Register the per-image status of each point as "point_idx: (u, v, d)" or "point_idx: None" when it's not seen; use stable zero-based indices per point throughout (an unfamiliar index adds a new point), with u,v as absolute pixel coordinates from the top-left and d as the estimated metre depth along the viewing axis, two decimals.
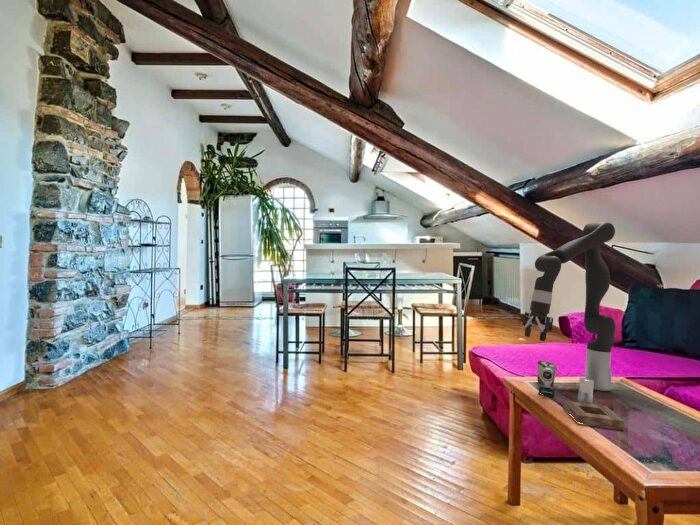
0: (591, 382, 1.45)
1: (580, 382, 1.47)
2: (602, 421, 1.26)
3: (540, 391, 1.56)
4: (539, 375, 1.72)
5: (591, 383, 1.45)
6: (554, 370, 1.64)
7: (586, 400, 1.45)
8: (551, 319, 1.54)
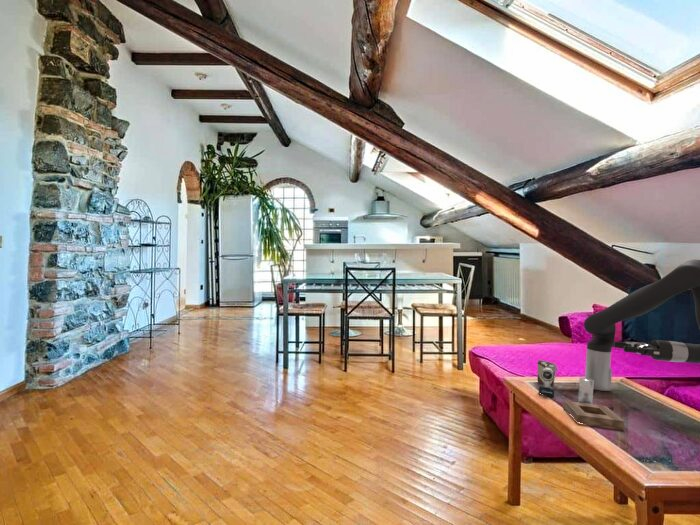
0: (591, 382, 1.45)
1: (580, 382, 1.47)
2: (602, 421, 1.26)
3: (540, 391, 1.56)
4: (539, 375, 1.72)
5: (591, 383, 1.45)
6: (554, 370, 1.64)
7: (586, 400, 1.45)
8: None
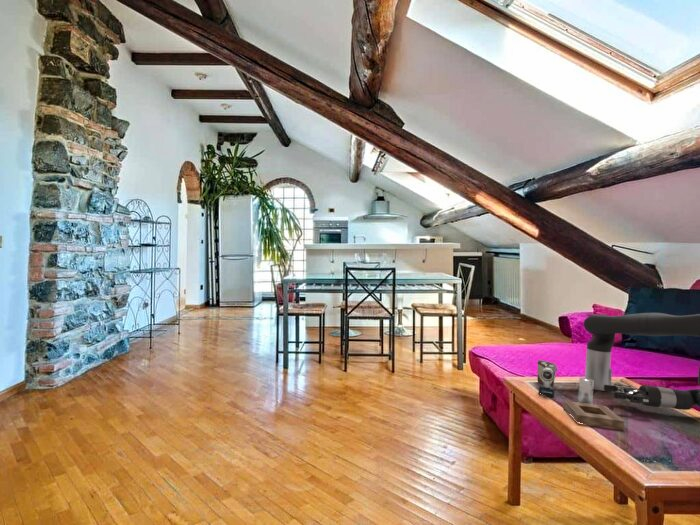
0: (591, 382, 1.45)
1: (580, 382, 1.47)
2: (603, 421, 1.26)
3: (540, 391, 1.56)
4: (539, 375, 1.72)
5: (591, 383, 1.45)
6: (554, 370, 1.64)
7: (586, 400, 1.45)
8: None
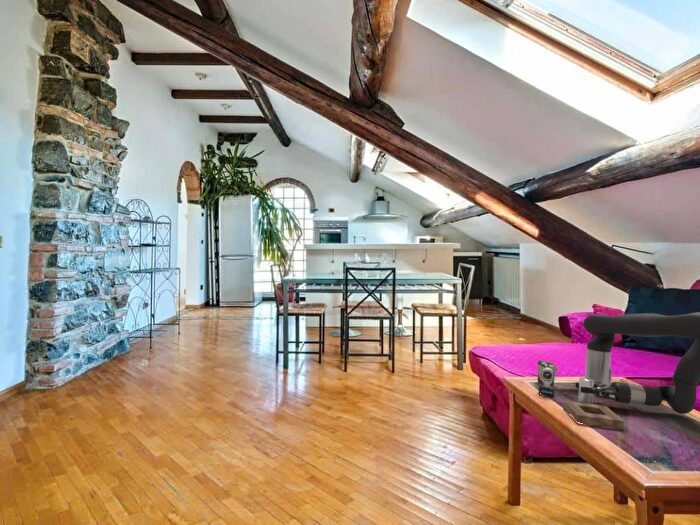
0: (591, 382, 1.45)
1: (580, 382, 1.47)
2: (603, 421, 1.26)
3: (540, 391, 1.56)
4: (539, 375, 1.72)
5: (591, 383, 1.45)
6: (554, 370, 1.64)
7: (586, 400, 1.45)
8: None
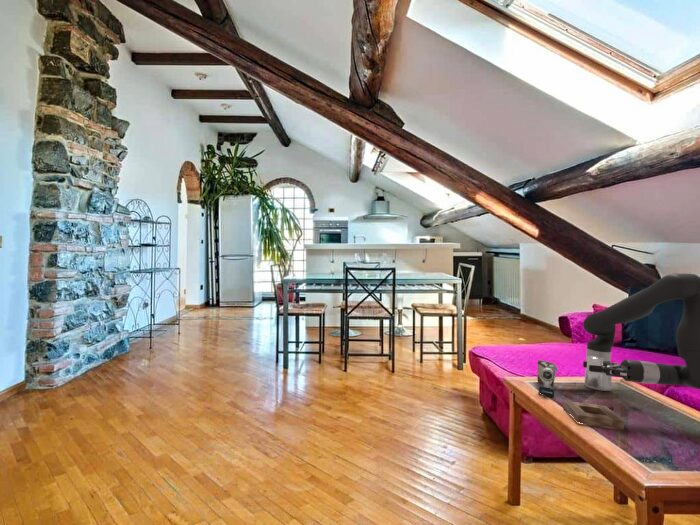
0: (600, 360, 1.34)
1: (588, 360, 1.36)
2: (603, 421, 1.26)
3: (540, 391, 1.56)
4: (539, 375, 1.72)
5: (600, 361, 1.34)
6: (554, 370, 1.64)
7: (595, 379, 1.34)
8: None
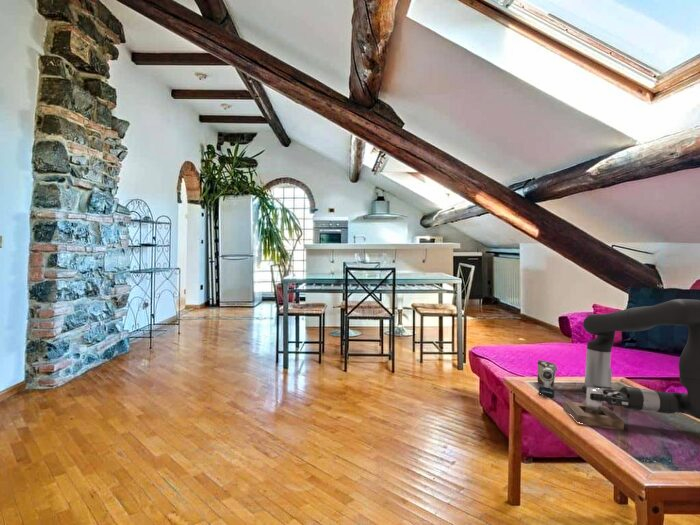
0: (600, 393, 1.31)
1: (587, 392, 1.33)
2: (603, 422, 1.26)
3: (540, 391, 1.56)
4: (539, 375, 1.72)
5: None
6: (554, 370, 1.64)
7: (593, 412, 1.31)
8: None
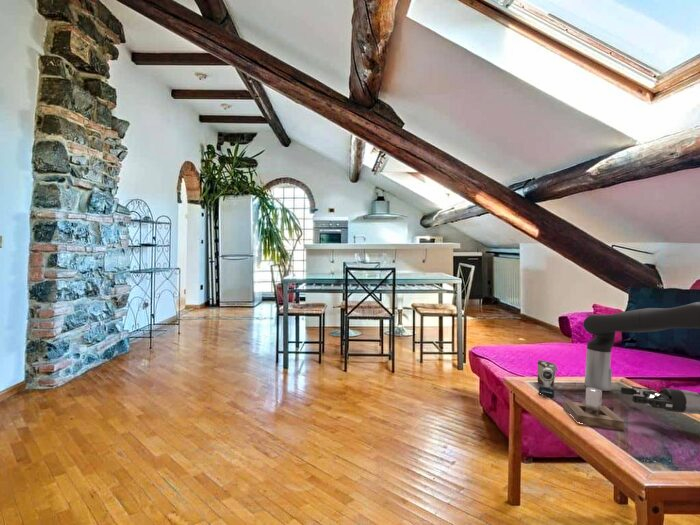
0: (599, 393, 1.31)
1: (587, 393, 1.33)
2: (603, 422, 1.26)
3: (540, 391, 1.56)
4: (539, 375, 1.72)
5: (599, 394, 1.31)
6: (554, 370, 1.64)
7: (593, 412, 1.31)
8: None
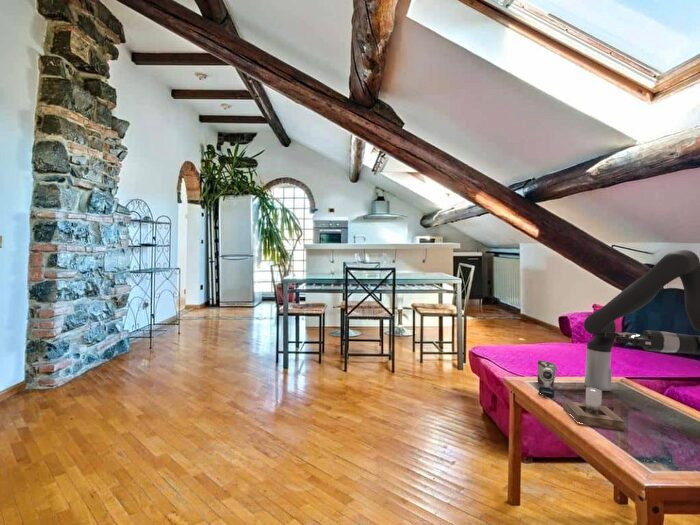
0: (599, 393, 1.31)
1: (587, 392, 1.33)
2: (603, 421, 1.26)
3: (540, 391, 1.56)
4: (539, 375, 1.72)
5: (599, 394, 1.31)
6: (554, 370, 1.64)
7: (593, 412, 1.31)
8: None
